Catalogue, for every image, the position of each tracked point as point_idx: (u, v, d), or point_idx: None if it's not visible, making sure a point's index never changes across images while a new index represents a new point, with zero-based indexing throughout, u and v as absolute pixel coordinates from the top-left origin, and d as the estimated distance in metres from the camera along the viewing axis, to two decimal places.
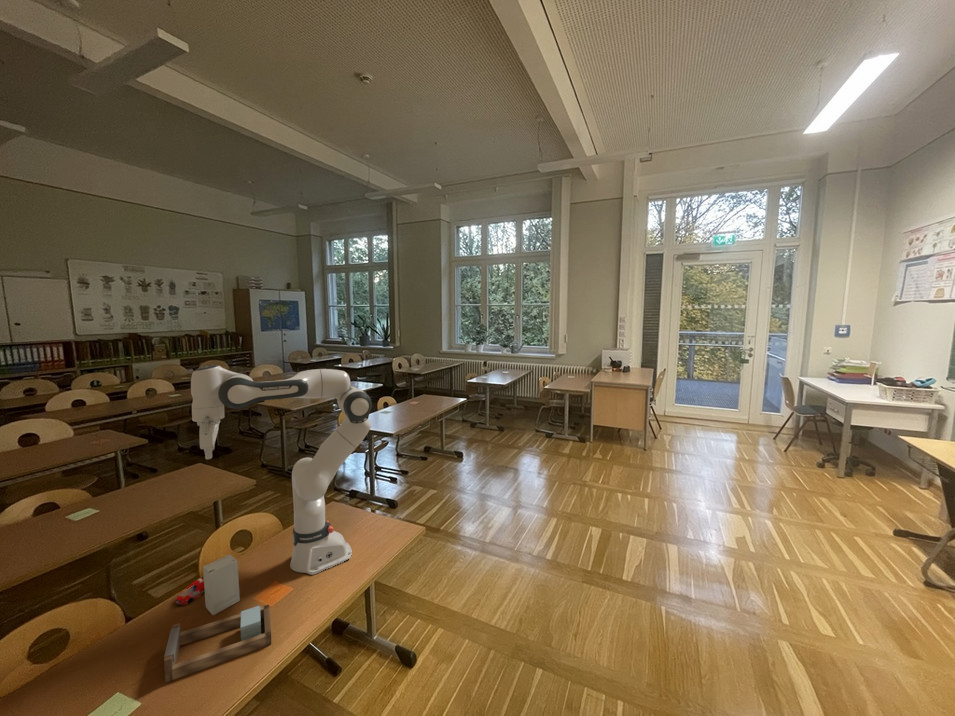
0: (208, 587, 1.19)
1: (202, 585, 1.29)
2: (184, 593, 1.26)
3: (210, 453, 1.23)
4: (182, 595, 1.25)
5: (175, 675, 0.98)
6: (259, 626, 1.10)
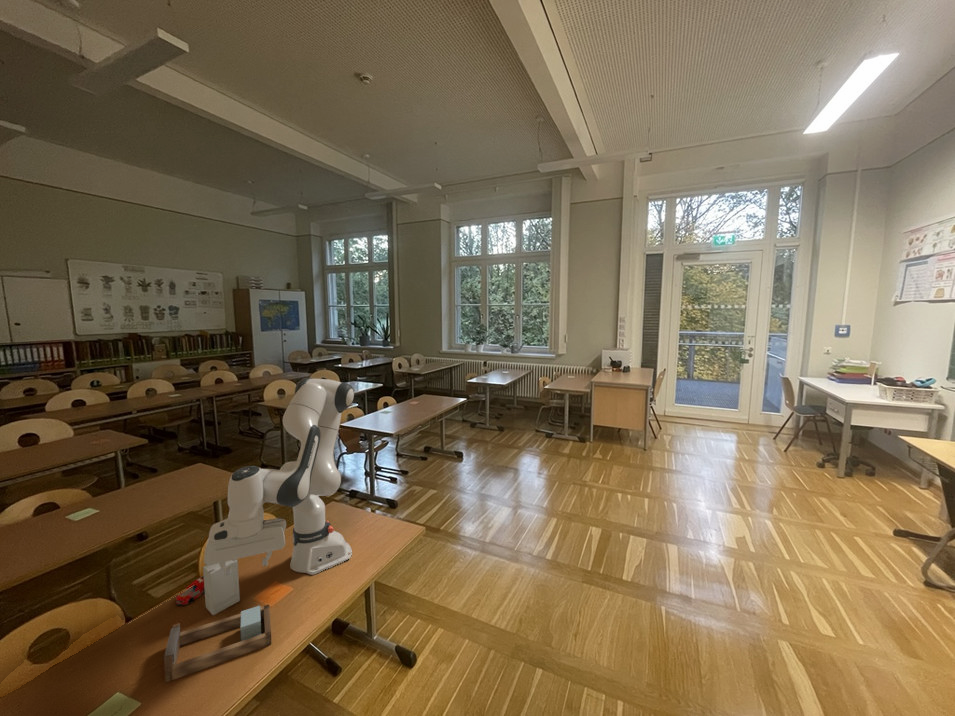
0: (208, 587, 1.19)
1: (202, 585, 1.29)
2: (184, 593, 1.25)
3: None
4: (182, 595, 1.25)
5: (175, 675, 0.98)
6: (259, 626, 1.10)
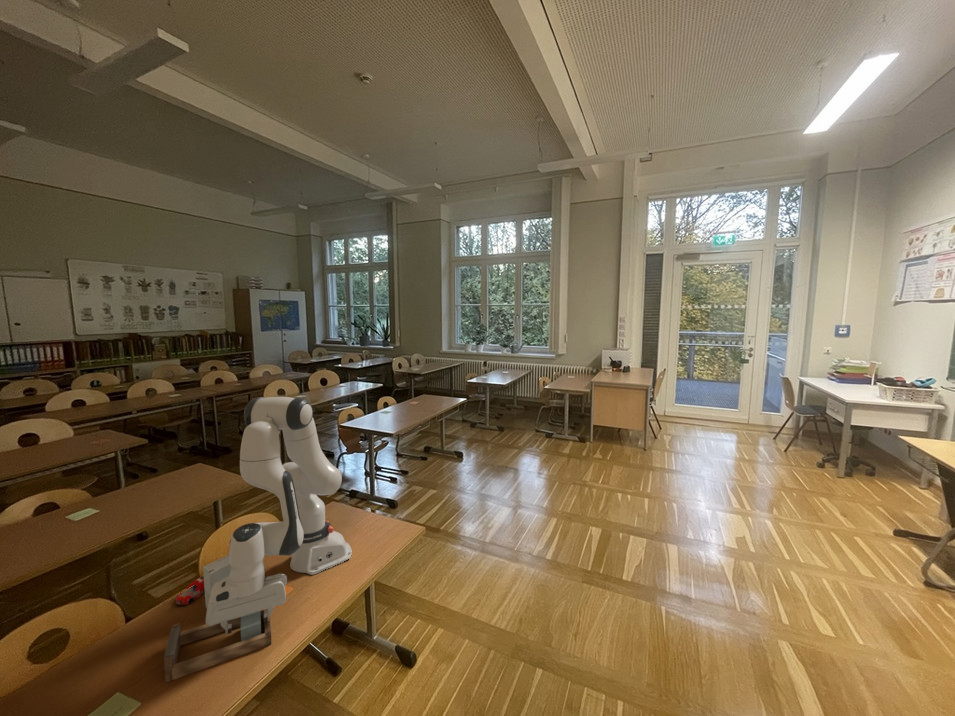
0: (208, 587, 1.19)
1: (202, 585, 1.29)
2: (184, 593, 1.25)
3: None
4: (182, 595, 1.24)
5: (175, 675, 0.98)
6: (259, 626, 1.10)
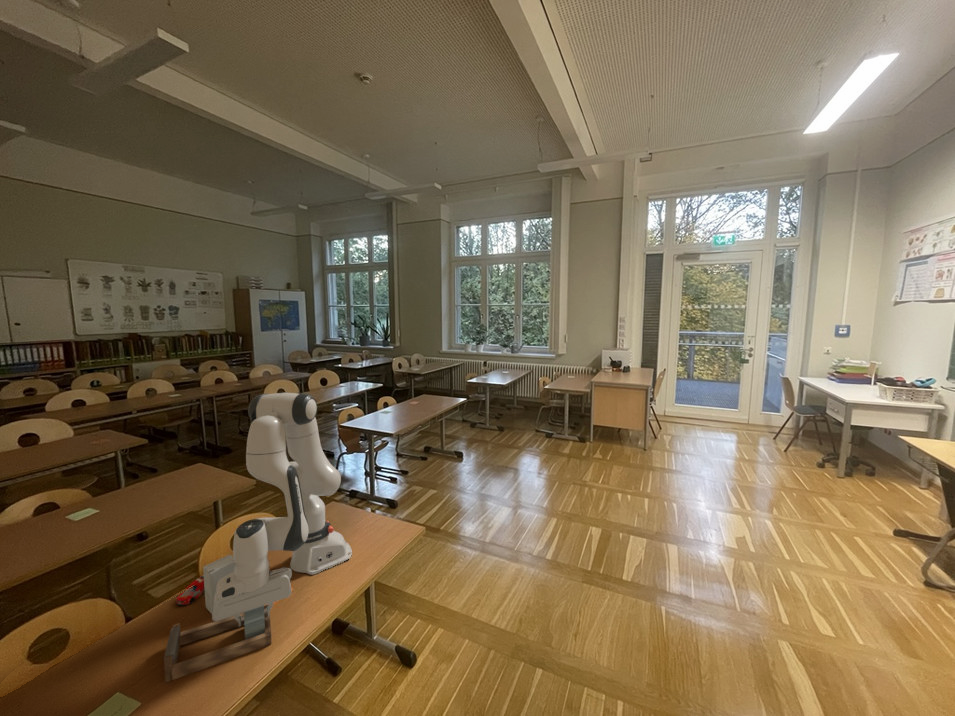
0: (208, 587, 1.19)
1: (202, 584, 1.29)
2: (185, 593, 1.25)
3: None
4: (183, 596, 1.24)
5: (175, 675, 0.98)
6: (263, 621, 1.11)
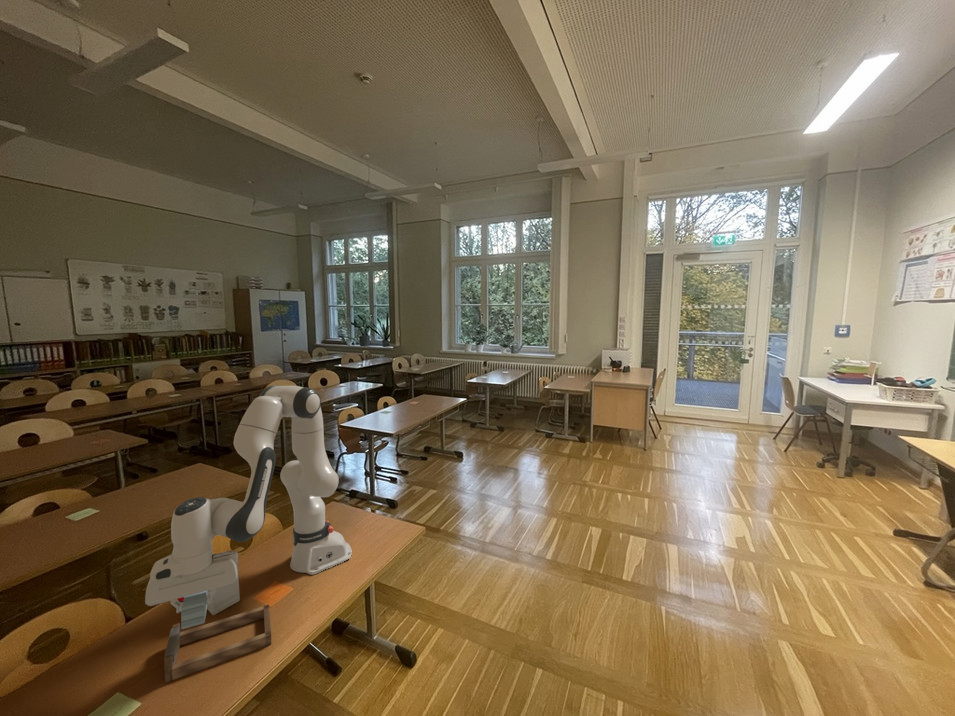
0: None
1: None
2: None
3: None
4: None
5: (175, 675, 0.98)
6: (202, 608, 1.03)
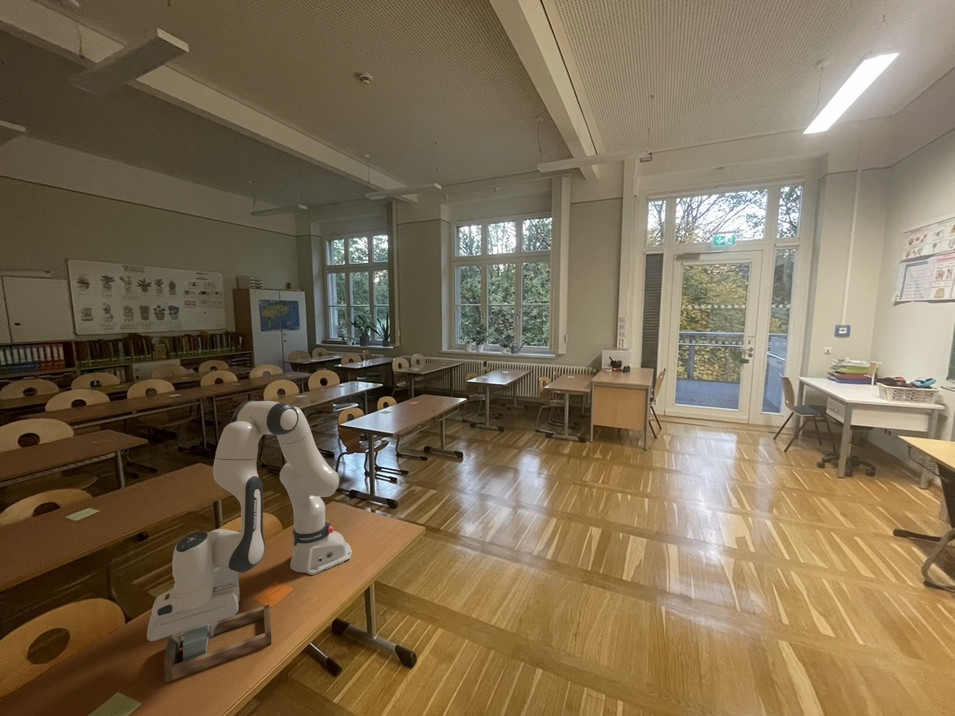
0: None
1: None
2: None
3: None
4: None
5: (175, 675, 0.98)
6: (204, 642, 1.03)
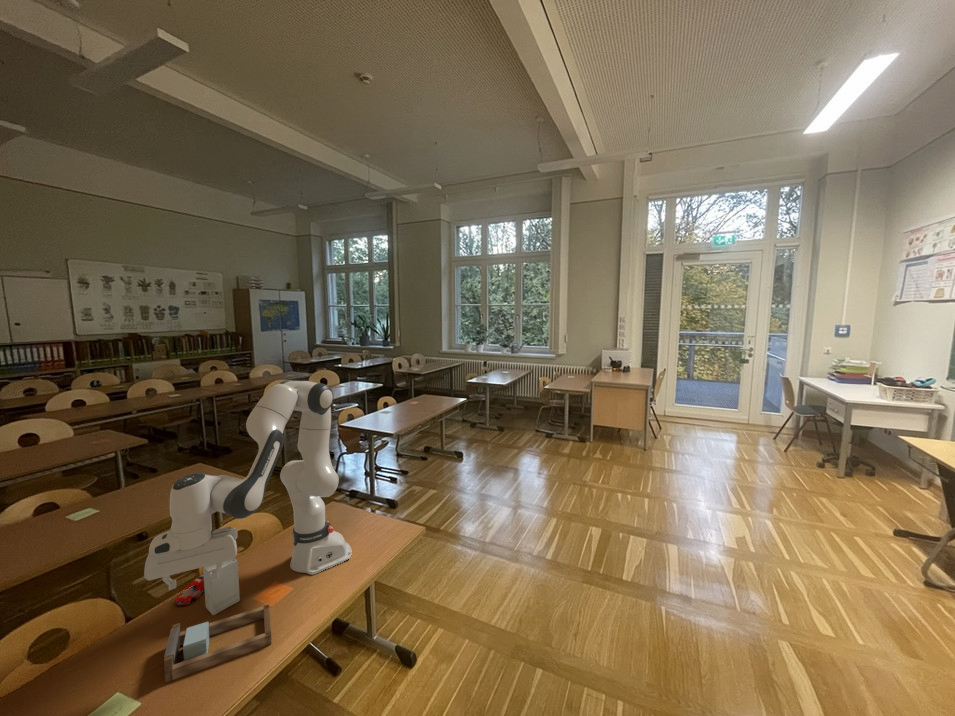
0: (208, 587, 1.19)
1: (201, 584, 1.29)
2: (184, 593, 1.25)
3: None
4: (183, 596, 1.24)
5: (175, 675, 0.98)
6: (204, 644, 1.04)
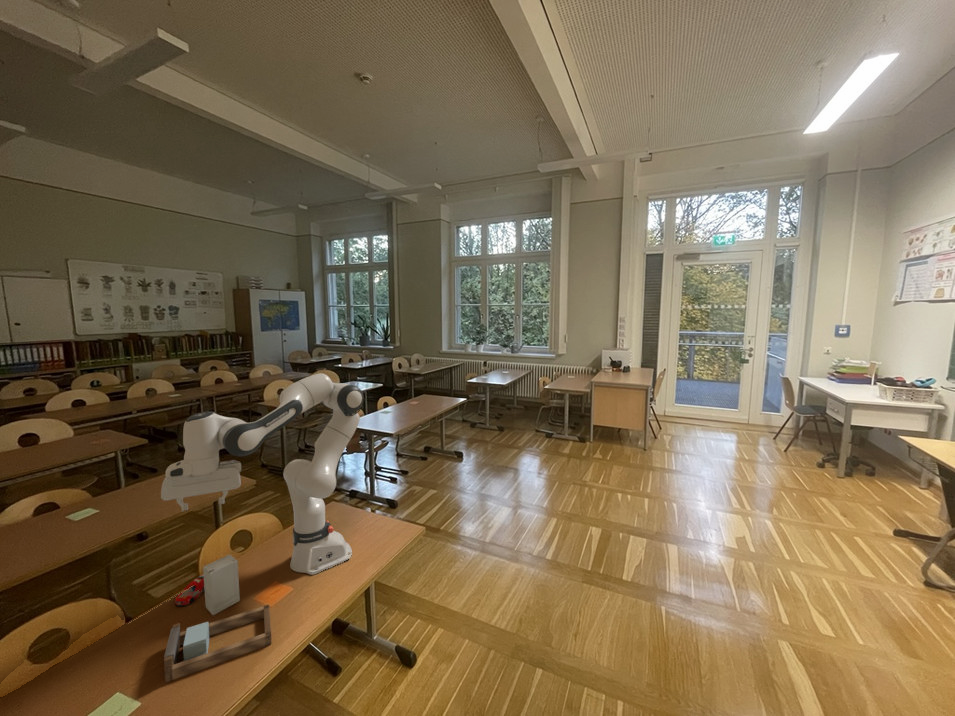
0: (208, 587, 1.19)
1: (201, 585, 1.29)
2: (184, 594, 1.25)
3: (224, 496, 1.23)
4: (182, 596, 1.24)
5: (175, 675, 0.98)
6: (204, 644, 1.04)
